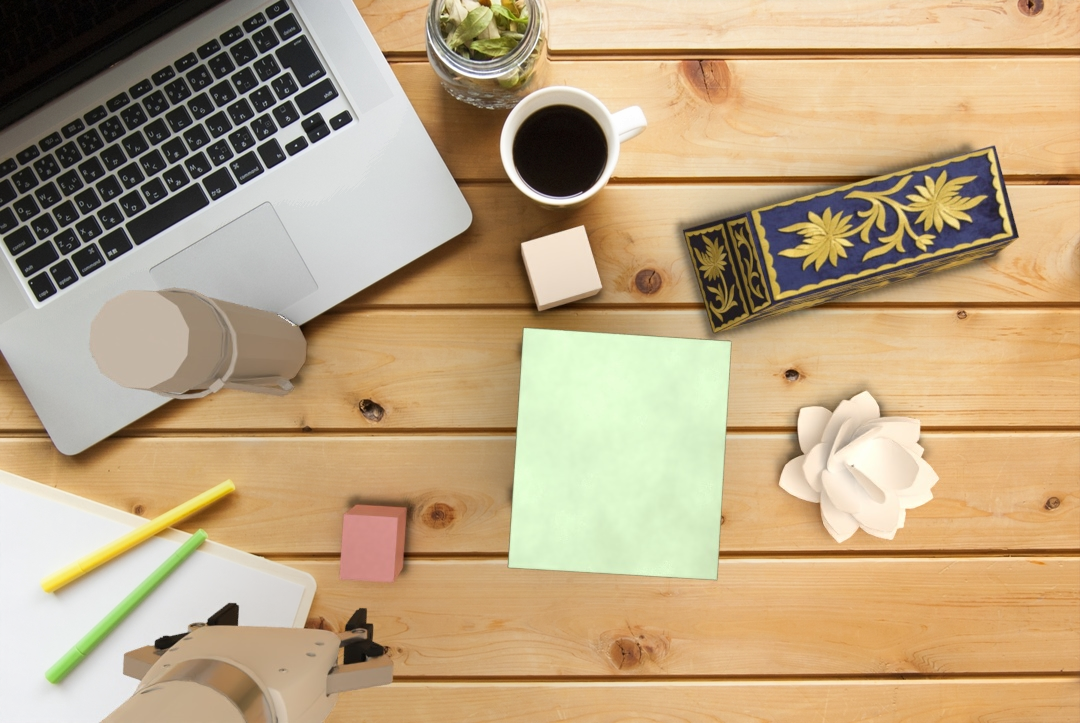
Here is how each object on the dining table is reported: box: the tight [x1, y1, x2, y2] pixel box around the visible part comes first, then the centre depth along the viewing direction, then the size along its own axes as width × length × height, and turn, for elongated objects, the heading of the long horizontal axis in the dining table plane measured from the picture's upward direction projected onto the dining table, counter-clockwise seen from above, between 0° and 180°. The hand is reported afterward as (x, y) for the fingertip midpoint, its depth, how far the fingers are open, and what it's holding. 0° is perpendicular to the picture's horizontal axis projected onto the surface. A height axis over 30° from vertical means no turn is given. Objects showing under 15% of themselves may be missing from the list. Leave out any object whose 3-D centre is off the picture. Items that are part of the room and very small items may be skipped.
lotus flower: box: [778, 390, 940, 544], centre depth 69 cm, size 14×15×9 cm
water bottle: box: [88, 286, 308, 400], centre depth 60 cm, size 9×8×25 cm
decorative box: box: [682, 144, 1020, 334], centre depth 69 cm, size 11×30×9 cm, turn 105°
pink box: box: [338, 504, 408, 584], centre depth 70 cm, size 6×5×5 cm
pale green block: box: [507, 326, 733, 581], centre depth 61 cm, size 16×14×24 cm
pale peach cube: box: [520, 224, 603, 312], centre depth 70 cm, size 6×6×6 cm
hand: (297, 625), depth 55 cm, fingers open, 9 cm apart
